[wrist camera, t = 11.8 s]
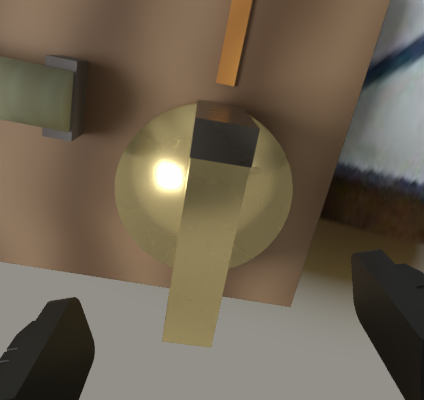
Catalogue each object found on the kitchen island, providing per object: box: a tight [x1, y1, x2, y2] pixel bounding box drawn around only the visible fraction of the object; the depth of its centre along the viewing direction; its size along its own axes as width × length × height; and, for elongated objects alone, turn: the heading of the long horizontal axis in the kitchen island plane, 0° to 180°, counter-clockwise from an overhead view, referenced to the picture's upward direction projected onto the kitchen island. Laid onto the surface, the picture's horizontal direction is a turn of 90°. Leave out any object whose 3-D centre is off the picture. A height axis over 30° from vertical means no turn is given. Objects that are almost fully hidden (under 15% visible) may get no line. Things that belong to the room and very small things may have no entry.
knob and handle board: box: [0, 0, 390, 307], centre depth 17 cm, size 22×16×5 cm
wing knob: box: [115, 99, 293, 347], centre depth 15 cm, size 8×8×6 cm
